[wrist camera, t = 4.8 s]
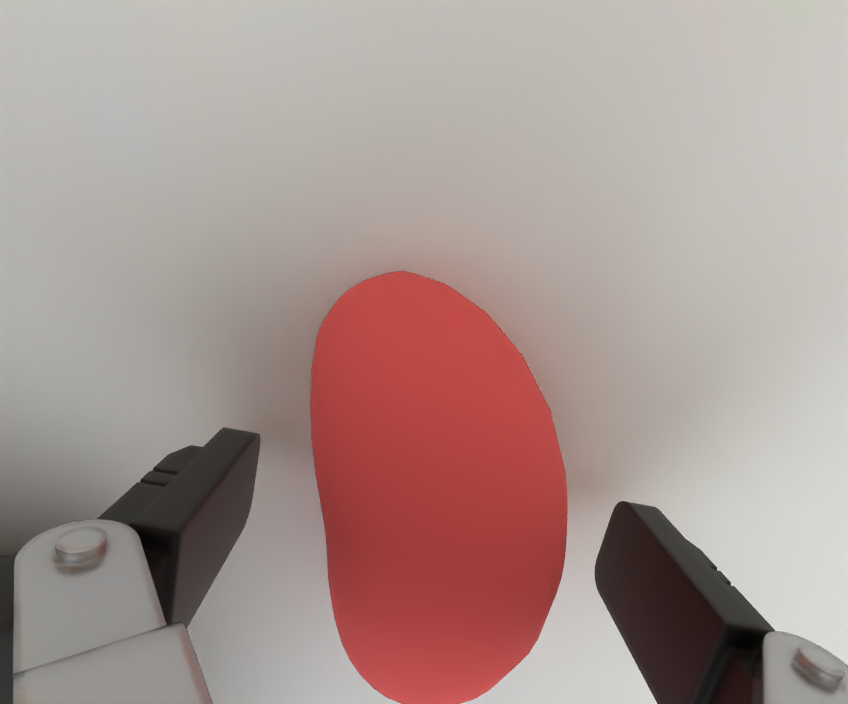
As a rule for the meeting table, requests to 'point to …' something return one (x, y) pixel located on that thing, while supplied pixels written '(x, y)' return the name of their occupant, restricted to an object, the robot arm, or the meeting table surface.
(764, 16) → the meeting table surface
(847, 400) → the meeting table surface
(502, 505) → the red rounded oblong piece
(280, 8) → the meeting table surface
